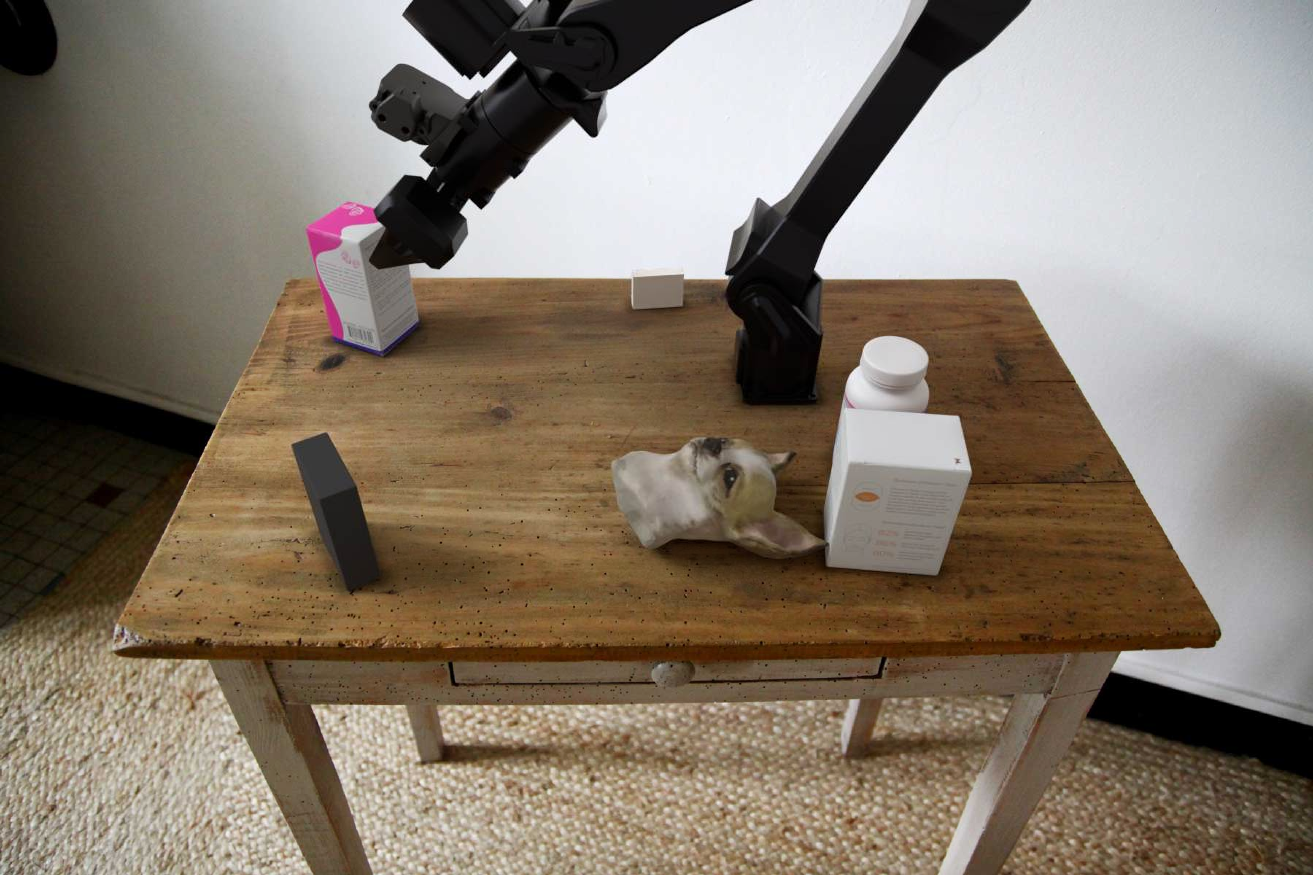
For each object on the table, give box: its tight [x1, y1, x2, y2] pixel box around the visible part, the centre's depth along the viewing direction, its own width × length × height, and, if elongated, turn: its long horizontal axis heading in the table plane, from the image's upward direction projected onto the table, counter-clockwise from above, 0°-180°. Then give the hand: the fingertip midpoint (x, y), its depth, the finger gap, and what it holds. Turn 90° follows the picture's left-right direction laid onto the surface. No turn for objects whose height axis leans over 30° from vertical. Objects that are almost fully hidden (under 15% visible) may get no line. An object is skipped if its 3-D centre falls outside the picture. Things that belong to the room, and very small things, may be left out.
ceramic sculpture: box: [610, 436, 829, 560], centre depth 66 cm, size 11×9×15 cm
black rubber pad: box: [290, 431, 382, 592], centre depth 62 cm, size 2×6×9 cm, turn 32°
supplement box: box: [305, 201, 420, 357], centre depth 81 cm, size 6×6×12 cm
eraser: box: [631, 266, 685, 310], centre depth 89 cm, size 1×5×4 cm, turn 98°
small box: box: [823, 408, 973, 576], centre depth 64 cm, size 8×6×10 cm
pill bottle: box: [832, 335, 930, 460], centre depth 70 cm, size 6×6×11 cm
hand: (395, 236), depth 78 cm, fingers open, 9 cm apart
